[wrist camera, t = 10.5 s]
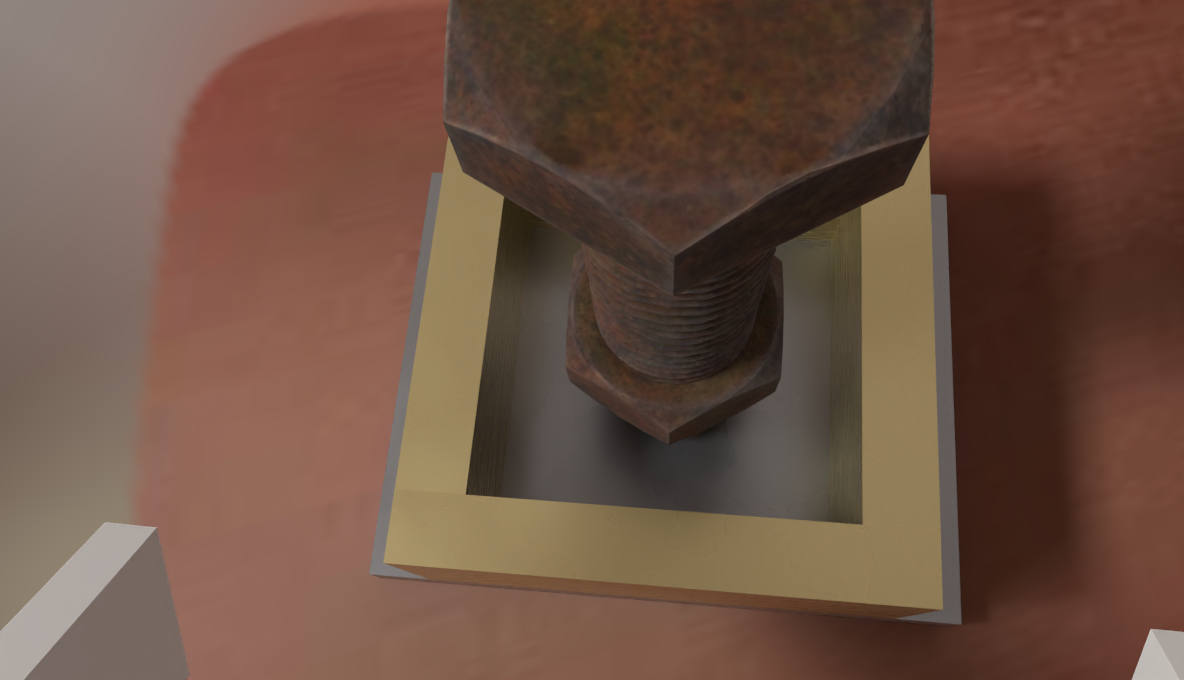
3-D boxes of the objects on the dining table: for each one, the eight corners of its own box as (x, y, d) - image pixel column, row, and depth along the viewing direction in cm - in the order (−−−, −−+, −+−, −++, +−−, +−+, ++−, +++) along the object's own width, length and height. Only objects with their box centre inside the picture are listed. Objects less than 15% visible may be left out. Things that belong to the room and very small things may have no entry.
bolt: (613, 523, 23) (537, 305, 9) (527, 348, 25) (345, -74, 10) (823, 417, 23) (1069, 51, 9) (725, 252, 25) (808, -275, 11)
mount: (935, 211, 26) (996, 112, 21) (949, 625, 23) (1024, 616, 18) (440, 189, 27) (393, 91, 23) (380, 577, 24) (311, 556, 19)
